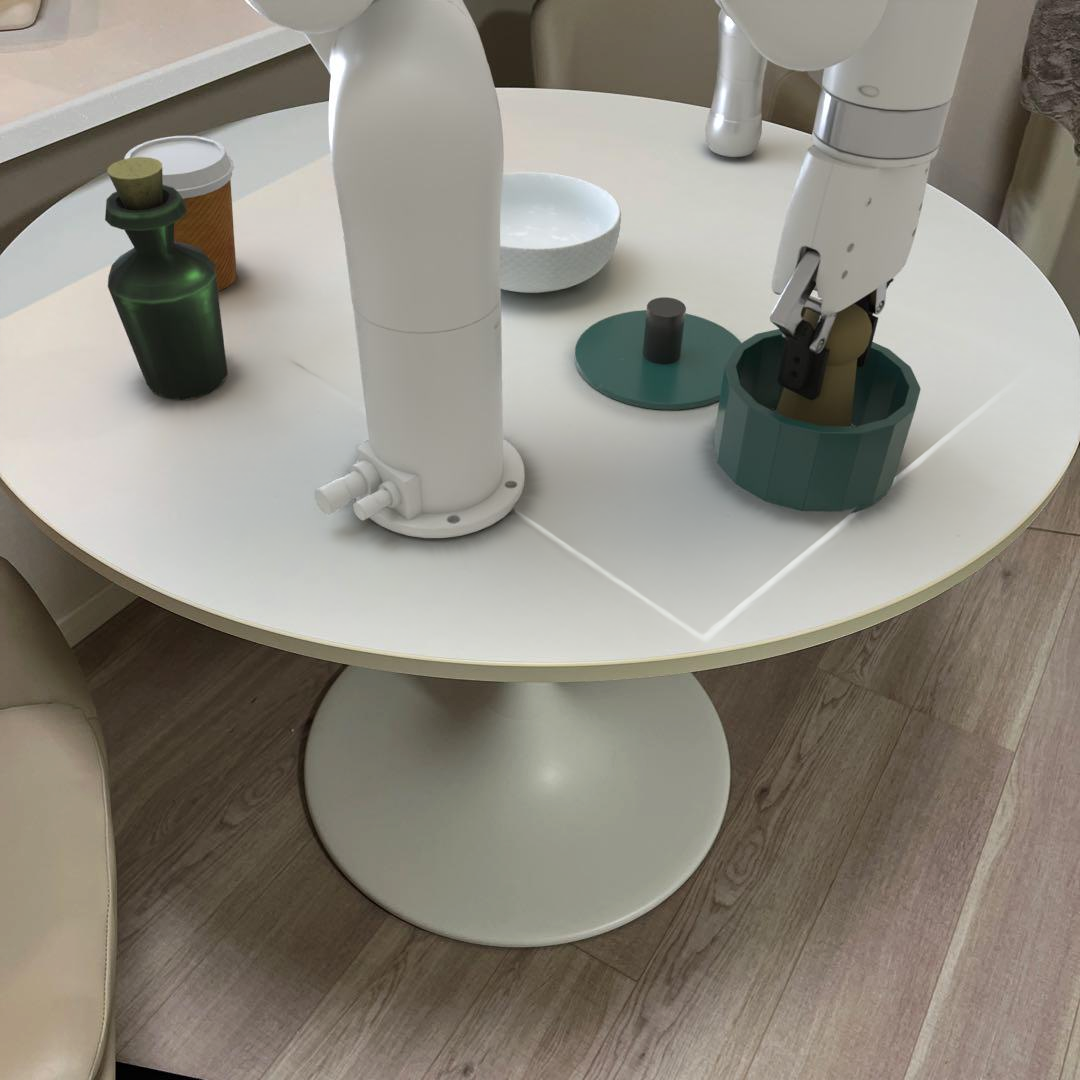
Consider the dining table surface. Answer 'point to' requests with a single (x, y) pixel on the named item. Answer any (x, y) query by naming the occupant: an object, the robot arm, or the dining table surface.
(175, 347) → the potion bottle
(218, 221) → the disposable coffee cup
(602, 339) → the lid
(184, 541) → the dining table surface
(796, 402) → the olive brown pawn
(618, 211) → the cereal bowl
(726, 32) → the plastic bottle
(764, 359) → the pot
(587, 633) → the dining table surface
